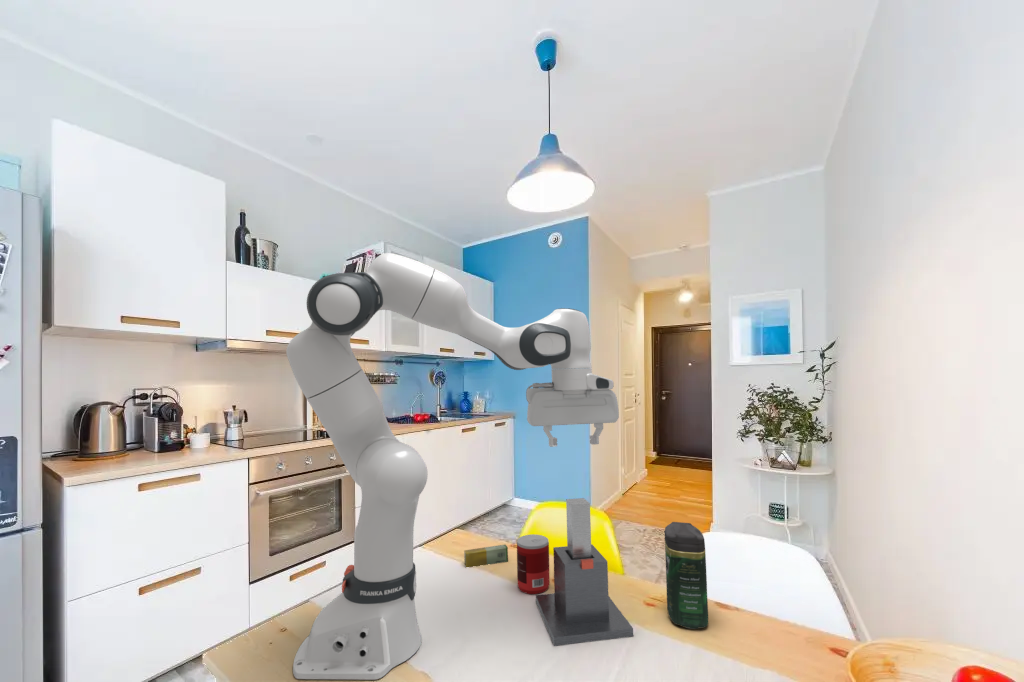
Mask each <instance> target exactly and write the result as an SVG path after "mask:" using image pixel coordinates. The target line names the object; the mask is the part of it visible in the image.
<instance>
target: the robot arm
mask: <svg viewBox="0 0 1024 682" xmlns="http://www.w3.org/2000/svg"><path fill="white" fill-rule="evenodd" d="M306 310H307V313H308V315H309V318H310V320H311V323H310V325H309V326H308V327H307V328H306V329H304V330H302V331H300V332H298V333H297V334H296V335H295V336H294V337H292V339H291V340H290V341H289V343H288V345H286V351H285V352H286V357H287V360H288V361H287V362H288V363H289V366H290V368H291V371H292V373H293V376H294V378H295V380H296V382H297V384H298V386H299V388H300V390H301V392H302V394H303V395H304V397H305V399H306V400H307V401H308V404H309V405H310V407H311V408H312V410H313V412H314V413H315V414H316V417H317V418H318V420H319V422H320V423H321V425H322V427H323V428H324V429H325V431H326V433H327V435H328V436H329V438H330V441H331V442H332V444H333V446H334V448H335V450H336V452H337V453H338V456H339V457H340V459H341V461H342V463H343V465H344V466H345V468H346V470H347V472H348V473H349V475H350V476H351V478H352V480H353V482H355V484H356V485H358V486H359V487H360V490H361V503H360V509H359V514H358V515H359V516H358V520H357V521H358V522H357V525H356V526H355V528H354V543H353V544H354V545H353V546H354V547H353V548H354V552H353V564H349V565H347V567H346V568H345V571H344V572H343V577H342V584H341V593H340V594H339V595H338V596H337V597H335V598H334V599H333V600H331V601H330V602H328V604H326V606H324V607H323V608H322V609H321V610H320V612H319V613H318V614H317V616H316V618H315V620H314V621H313V624H312V626H311V630H310V632H309V635H308V636H307V637H306V638H305V639H304V640H303V641H302V643H300V646H299V648H298V649H297V652H296V654H295V656H294V660H293V663H292V673H293V676H294V678H295V679H297V680H361V681H362V680H367V681H368V680H370V681H371V680H375V681H376V680H378V679H381V678H383V677H384V676H385V675H387V674H388V673H389V672H390V671H391V670H392V669H394V667H397V666H398V665H399V664H402V663H404V662H405V661H407V660H409V659H410V658H411V657H412V656H413V655H414V654H416V652H417V651H418V650H419V649H420V647H421V644H422V640H423V639H422V638H423V637H422V634H421V631H420V627H419V622H418V617H417V611H416V610H417V609H416V602H415V600H416V599H415V597H416V593H417V570H416V564H415V562H414V531H415V530H414V529H415V528H414V526H415V519H416V513H417V508H418V504H419V499H420V495H421V494H422V493H423V491H424V489H425V487H426V484H427V482H428V468H427V464H426V462H425V459H423V457H422V456H421V455H420V453H419V452H418V450H416V449H415V448H414V447H413V446H411V445H409V444H407V443H404V442H402V441H400V440H399V439H397V437H396V436H395V435H394V433H393V431H392V429H391V427H390V424H389V422H388V420H387V417H386V414H385V412H384V408H383V402H382V401H381V399H380V397H379V395H378V394H377V392H376V390H375V389H374V387H373V385H372V384H371V382H370V380H369V378H368V377H367V375H366V373H365V371H364V370H363V368H362V366H361V365H360V363H359V361H358V360H357V358H356V356H355V354H354V352H353V349H352V346H351V339H352V338H351V337H352V336H354V334H356V333H357V332H359V331H360V330H362V329H363V328H364V327H366V326H367V325H368V324H369V322H370V321H371V319H372V318H373V317H374V316H375V315H376V313H378V311H382V310H383V311H384V310H385V311H389V312H390V311H391V312H394V313H396V314H399V315H400V316H404V317H406V318H407V319H410V320H412V321H413V322H414V321H415V322H417V323H420V324H422V325H425V326H428V327H431V328H434V329H438V330H442V331H445V332H448V333H452V334H456V335H457V336H460V337H462V338H464V339H466V340H468V341H470V342H473V343H475V344H476V345H478V346H480V347H482V348H485V349H486V350H488V351H490V352H491V353H492V354H494V355H495V356H496V357H497V358H498V359H499V361H500V362H501V363H502V364H503V365H504V366H506V367H507V368H509V369H510V370H516V371H522V370H526V369H535V368H536V369H537V368H544V367H546V366H549V365H550V367H551V382H542V383H540V382H534V383H532V384H531V385H528V387H527V389H526V391H525V396H526V402H527V403H528V404H527V410H526V411H527V418H526V420H527V423H528V424H529V425H530V426H532V427H543V432H544V434H545V435H546V437H547V438H548V447H550V448H555V447H556V448H557V447H558V438H557V437H554V436H553V435H552V433H551V431H553V426H567V425H570V426H572V425H573V426H574V425H590V424H593V427H594V428H595V430H594V432H593V434H592V435H589V444H591V445H599V444H600V436H601V434H602V432H603V430H604V424H610V423H611V424H614V423H616V422H618V420H619V418H620V416H619V415H620V412H619V404H618V399H617V397H618V396H617V394H616V393H615V391H613V390H612V389H614V384H615V383H614V381H613V379H610V378H607V377H604V376H600V375H598V374H594V373H592V372H593V371H592V364H591V361H590V353H591V347H592V346H591V345H592V344H591V332H590V326H589V325H590V324H589V320H588V318H587V315H586V314H585V313H584V312H582V311H581V310H578V309H574V308H565V307H564V308H562V307H561V308H556V309H554V310H553V311H552V312H551V313H550V314H548V315H546V316H545V317H543V318H541V319H539V320H536V321H534V322H531V323H527V324H525V325H522V326H519V327H509V326H503V325H500V324H499V323H497V322H496V321H493V320H491V319H489V318H487V317H486V316H484V315H482V314H480V313H479V312H477V311H476V310H474V309H473V308H472V307H471V306H470V303H469V300H468V295H467V293H466V291H465V288H464V287H463V285H462V284H461V283H460V282H458V281H457V280H455V279H454V278H453V277H451V276H450V275H448V274H446V273H445V272H443V271H440V270H438V269H437V268H434V267H432V266H430V265H427V264H426V263H424V262H420V261H418V260H415V259H413V258H411V257H408V256H404V255H402V254H401V255H400V254H396V253H393V252H384V253H380V255H378V256H377V257H375V258H374V259H373V260H372V261H371V262H370V264H369V266H368V267H367V270H366V271H365V272H363V271H358V272H356V271H355V272H340V273H332V274H328V275H325V276H323V277H321V278H320V279H318V280H317V281H316V282H314V283H313V285H312V286H311V287H310V289H309V291H308V293H307V297H306Z"/></svg>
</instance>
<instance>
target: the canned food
mask: <svg viewBox="0 0 1024 682" xmlns="http://www.w3.org/2000/svg"><path fill="white" fill-rule="evenodd" d="M516 568H517V569H516V571H517V573H516V574H517V575H516V576H517V579H516V580H517V587H518V589H519V591H521V592H522V593H524V594H529V595H541V594H544V592H547V591H548V589H549V588H550V580H551V579H550V541H549V538H548V537H546V536H544V535H542V534H541V535H540V534H525V535H522V536H520V537H518V538H517V540H516Z"/></svg>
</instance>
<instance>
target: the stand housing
mask: <svg viewBox="0 0 1024 682" xmlns="http://www.w3.org/2000/svg"><path fill="white" fill-rule="evenodd" d="M591 557H592V558H589V559H577V560H571V559H570V557H569V556H568V549H567V545H566V546H555V547H553V585H554V588H553V589H554V591H553V593H552V592H551V593H541V594H535V604H536V607H537V609H538V611H539V613H540V616H541V618H542V620H543V623H544V625H545V628H546V630H547V633H548V635H549V638H550V640H551V643H552V644H553V645H552V646H553V647H555V646H556V647H557V646H564V645H572V644H580V643H583V644H584V643H588V642H589V643H591V642H599V641H604V640H605V641H606V640H615V639H616V640H617V639H621V638H622V639H624V638H629V637H630V638H631V637H632V638H633V637H634V628H633V626H632V625H631V623H630V622H629V621H628V619H626V617H625V615H624V614H623V613H622V611H621V610H620V609H619V608H618V606H617V605H616V604H615V603H614V601H613V600H612V599H611V597H610V596H609V575H608V574H609V571H608V568H609V567H608V560H607V559H606V557H604V556H603V554H602V553H600V551H599V549H597V548H596V547H595V546H594V544H592V543H591Z"/></svg>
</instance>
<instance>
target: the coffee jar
mask: <svg viewBox="0 0 1024 682" xmlns="http://www.w3.org/2000/svg"><path fill="white" fill-rule="evenodd" d="M663 532H664V550H665V551H664V552H665V557H664V558H665V580H666V583H665V584H666V604H667V605H666V607H667V614H668V617H669V618H670V620H671V621H672V622H673V623H674V624H676V625H678V626H682V627H683V628H686V629H691V630H693V629H694V630H696V629H702V628H706V627H708V625H709V604H708V581H707V578H708V577H707V576H708V574H707V560H706V558H707V557H706V544H705V543H706V542H705V537H704V534H703V533H702V531H701V530H700V529H699V528H697V527H696V526H695V525H693V524H692V523H690V522H683V521H682V522H678V521H672V522H671V523H670V524H669V523H668V525H666V526H665V528H664V531H663Z"/></svg>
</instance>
